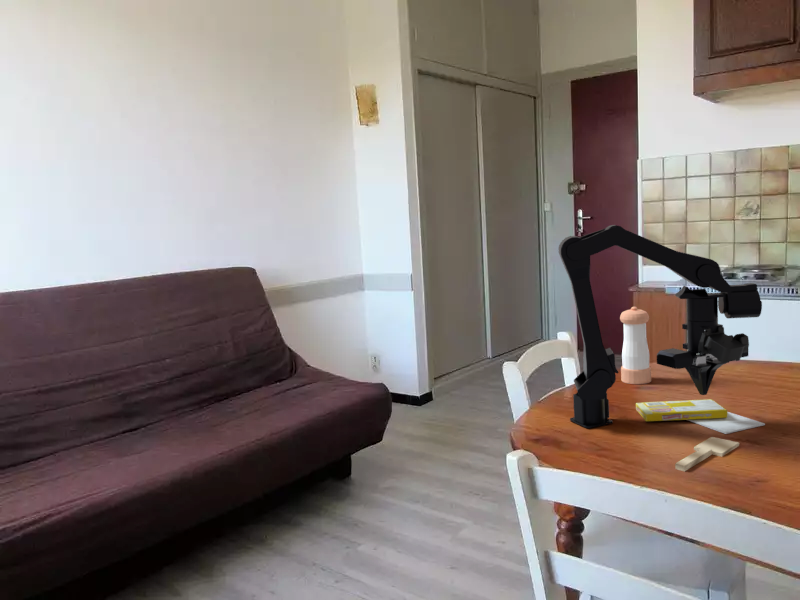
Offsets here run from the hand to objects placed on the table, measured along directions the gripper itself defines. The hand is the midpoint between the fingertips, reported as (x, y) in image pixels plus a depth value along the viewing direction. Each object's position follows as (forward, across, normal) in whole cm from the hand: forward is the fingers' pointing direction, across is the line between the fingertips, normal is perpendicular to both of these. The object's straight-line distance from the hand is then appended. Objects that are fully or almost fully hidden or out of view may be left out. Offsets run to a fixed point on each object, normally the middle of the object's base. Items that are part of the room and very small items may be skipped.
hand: (703, 394), depth 133 cm
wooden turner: (+6, -14, -14) cm, 20 cm away
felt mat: (+6, +2, 0) cm, 6 cm away
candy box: (+4, -4, +1) cm, 6 cm away
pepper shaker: (+6, +10, +32) cm, 34 cm away
